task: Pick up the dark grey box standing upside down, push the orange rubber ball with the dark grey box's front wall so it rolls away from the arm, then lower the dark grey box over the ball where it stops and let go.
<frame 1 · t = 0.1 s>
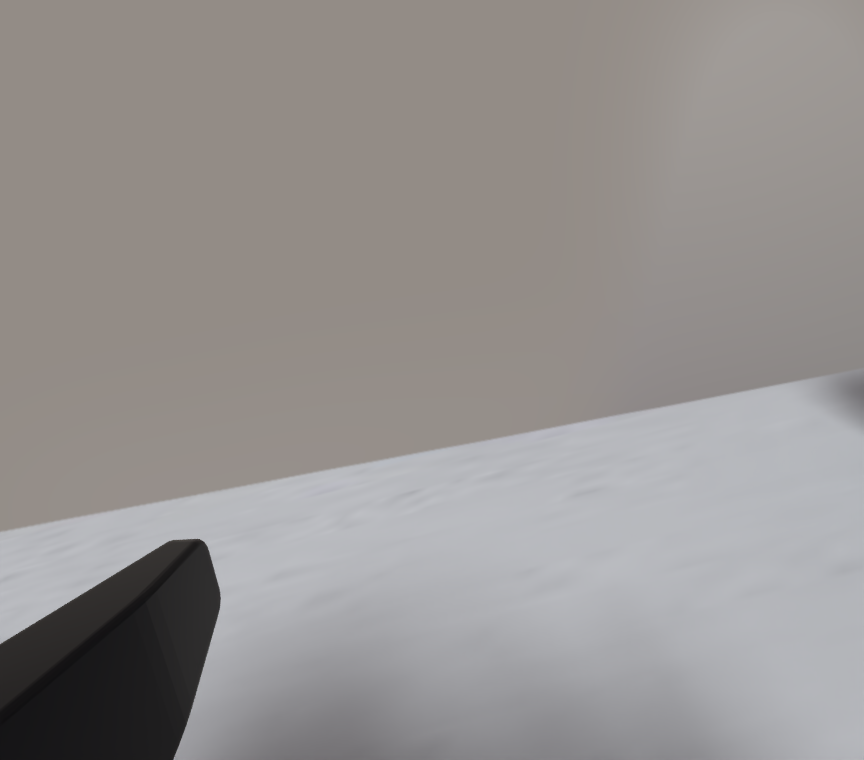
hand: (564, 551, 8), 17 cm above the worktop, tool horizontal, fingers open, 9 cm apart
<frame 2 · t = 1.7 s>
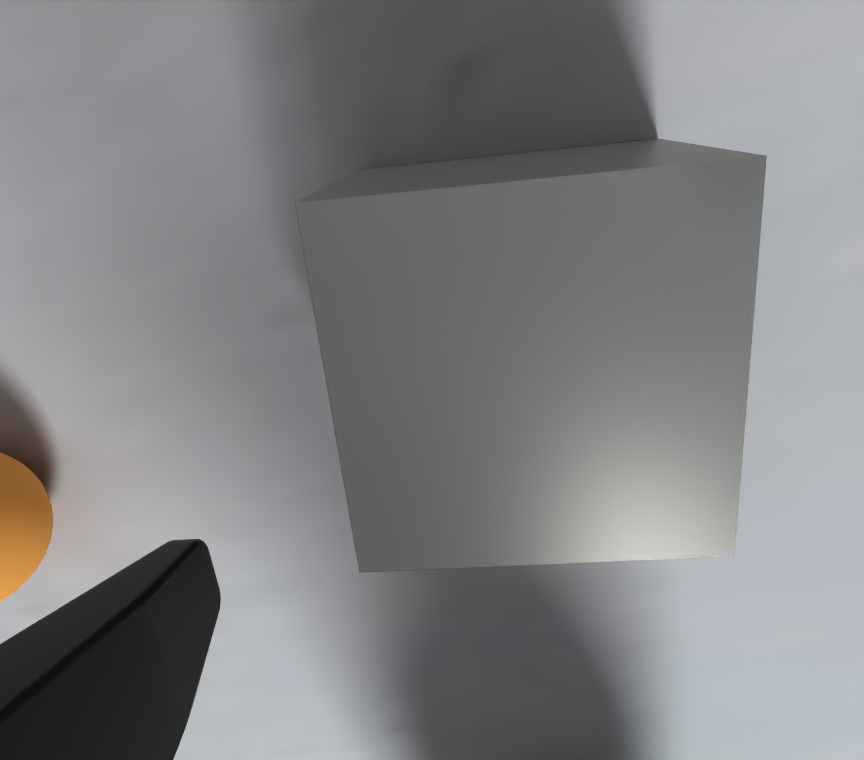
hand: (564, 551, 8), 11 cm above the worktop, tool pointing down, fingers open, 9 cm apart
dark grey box: (514, 298, 19), on the worktop
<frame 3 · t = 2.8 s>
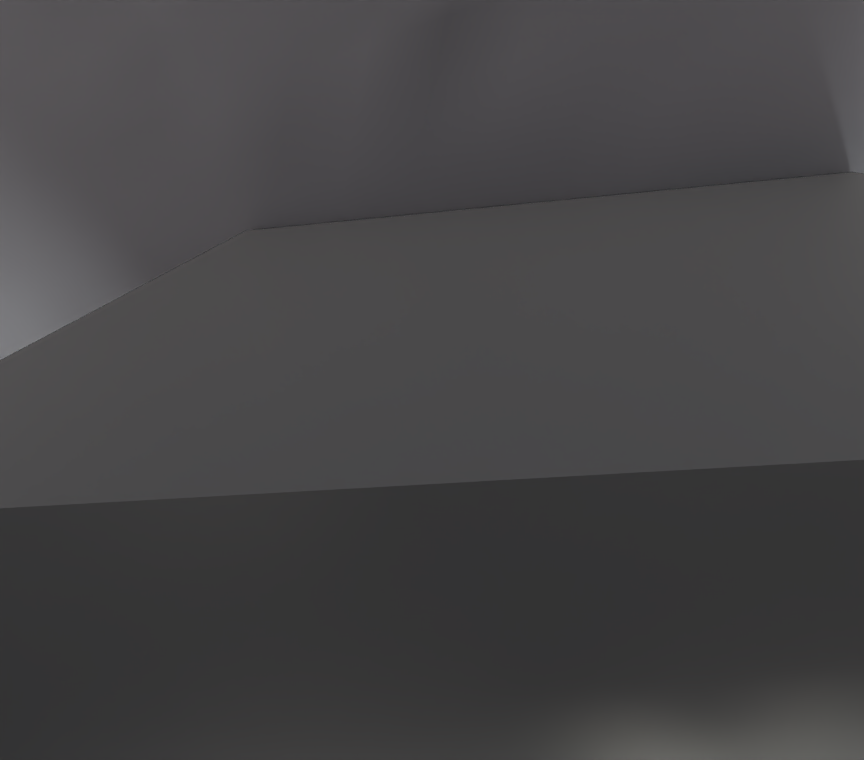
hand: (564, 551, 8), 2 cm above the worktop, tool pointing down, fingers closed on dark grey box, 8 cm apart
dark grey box: (547, 465, 10), on the worktop, touching gripper
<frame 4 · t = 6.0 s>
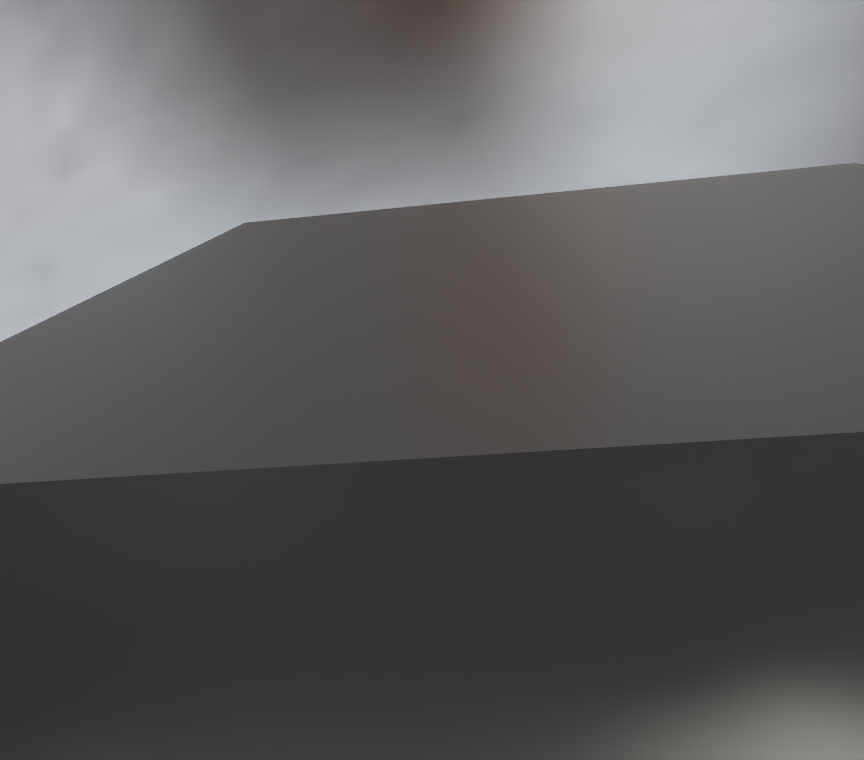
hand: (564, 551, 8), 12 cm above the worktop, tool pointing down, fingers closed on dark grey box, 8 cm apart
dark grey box: (547, 459, 10), point 10 cm above the worktop, touching gripper
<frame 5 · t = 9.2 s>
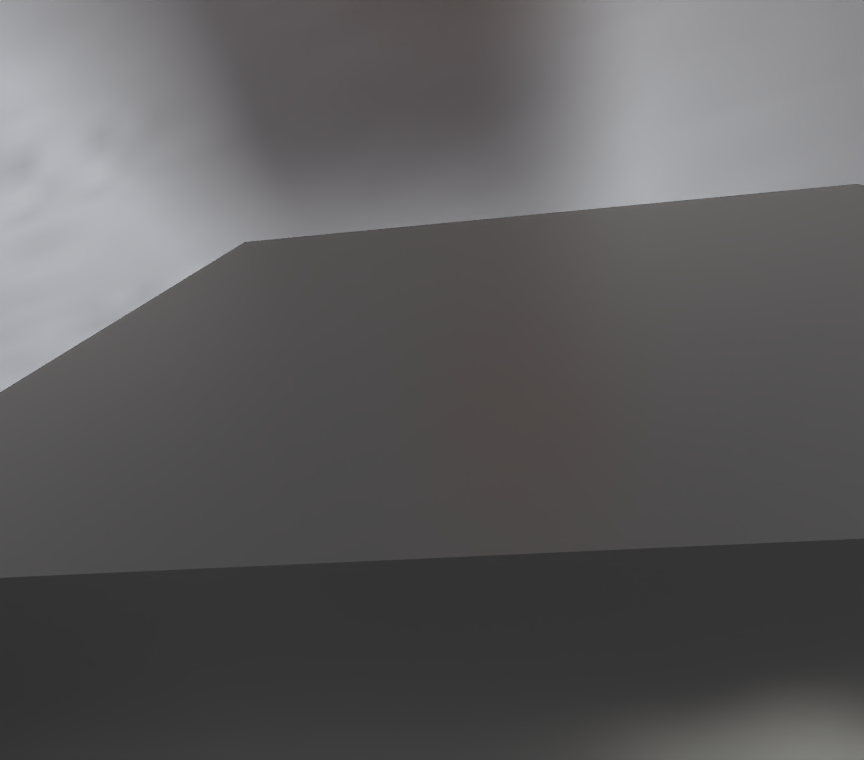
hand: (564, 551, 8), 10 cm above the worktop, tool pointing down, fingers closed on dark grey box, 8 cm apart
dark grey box: (548, 475, 10), point 8 cm above the worktop, touching gripper
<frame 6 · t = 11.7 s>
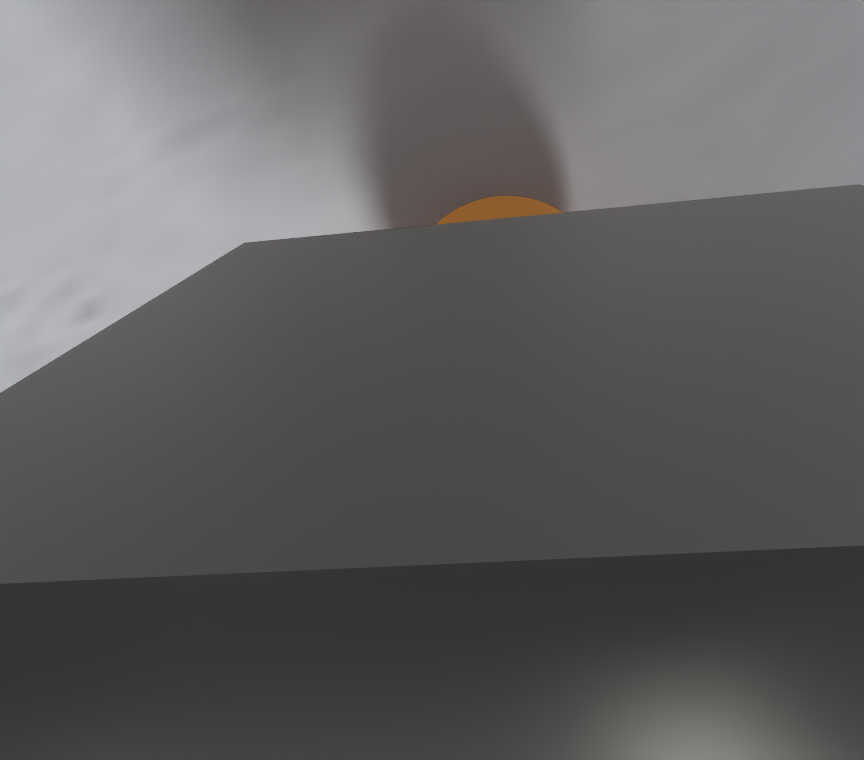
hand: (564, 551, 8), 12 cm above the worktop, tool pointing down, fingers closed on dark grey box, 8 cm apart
ball: (503, 299, 16), on the worktop
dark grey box: (548, 477, 10), point 10 cm above the worktop, touching gripper
when the fingers open (2 cm above the worktop, at t = 14.0 s): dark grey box stays where it is, on the worktop.
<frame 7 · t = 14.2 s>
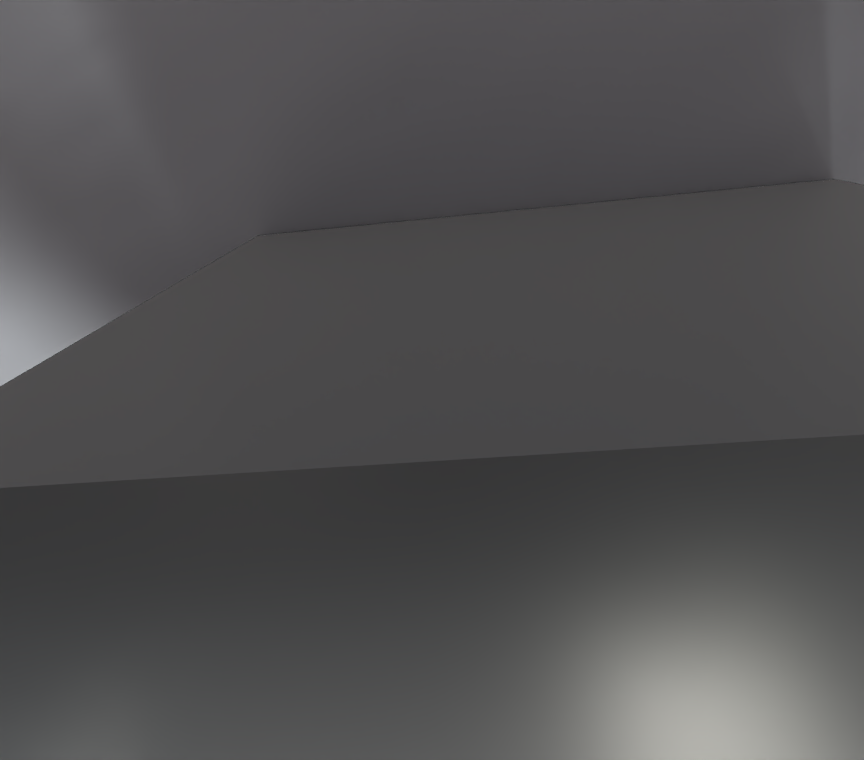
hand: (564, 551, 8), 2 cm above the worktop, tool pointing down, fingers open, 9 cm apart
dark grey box: (545, 458, 10), on the worktop
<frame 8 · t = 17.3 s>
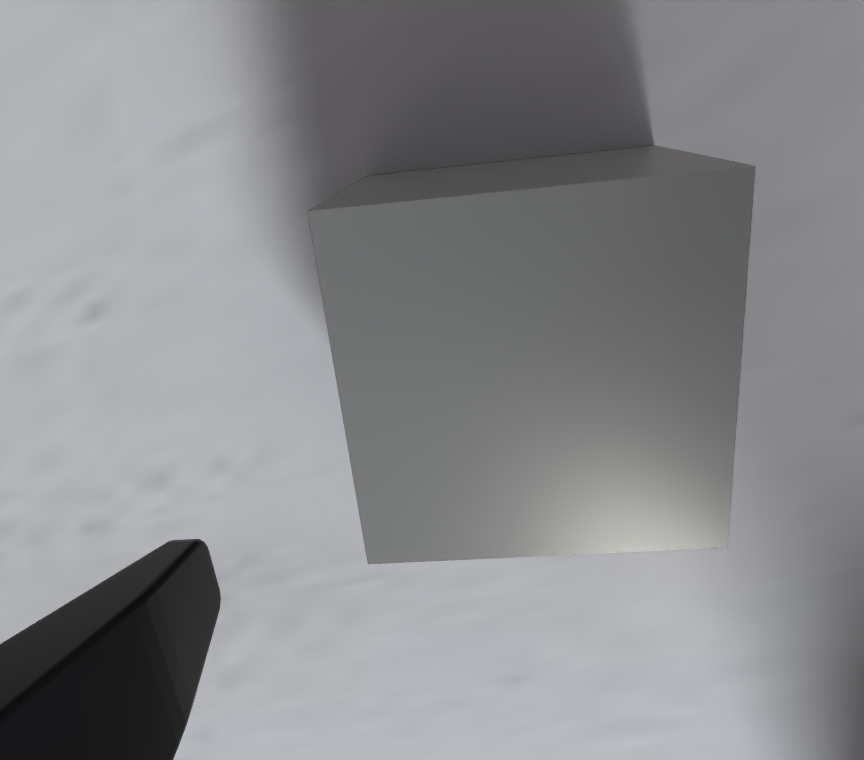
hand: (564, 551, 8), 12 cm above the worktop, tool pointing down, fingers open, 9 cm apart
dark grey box: (515, 299, 19), on the worktop
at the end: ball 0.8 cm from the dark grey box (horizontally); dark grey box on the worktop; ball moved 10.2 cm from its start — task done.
